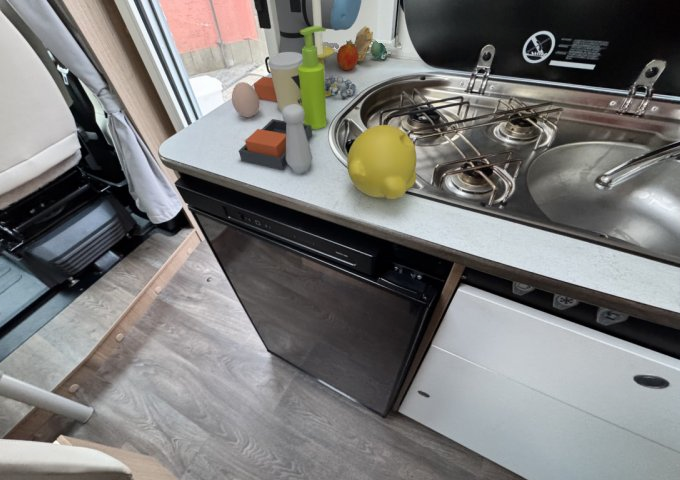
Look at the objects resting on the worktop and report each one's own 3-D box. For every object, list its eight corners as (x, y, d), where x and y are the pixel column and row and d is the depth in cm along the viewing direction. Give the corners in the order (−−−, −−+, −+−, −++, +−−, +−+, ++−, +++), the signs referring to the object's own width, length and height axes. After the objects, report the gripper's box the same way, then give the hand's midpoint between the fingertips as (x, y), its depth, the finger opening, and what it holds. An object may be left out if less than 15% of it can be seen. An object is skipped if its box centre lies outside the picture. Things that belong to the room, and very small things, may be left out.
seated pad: (261, 144, 72) (257, 128, 68) (290, 150, 69) (288, 134, 66) (249, 156, 69) (244, 140, 65) (279, 163, 66) (276, 146, 63)
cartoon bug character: (343, 69, 108) (378, 75, 113) (365, 52, 92) (405, 61, 97) (345, 37, 105) (381, 46, 110) (368, 15, 89) (409, 25, 94)
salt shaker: (282, 172, 65) (271, 111, 55) (294, 158, 68) (286, 98, 58) (306, 177, 64) (299, 116, 53) (317, 163, 67) (312, 102, 56)
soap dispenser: (334, 123, 77) (331, 27, 62) (311, 131, 75) (302, 35, 60) (322, 115, 81) (316, 22, 65) (300, 122, 79) (289, 28, 63)
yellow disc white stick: (298, 90, 91) (284, -35, 69) (323, 80, 94) (316, -41, 73) (319, 100, 86) (311, -31, 64) (344, 89, 89) (344, -38, 68)
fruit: (355, 64, 101) (356, 35, 95) (359, 72, 97) (360, 42, 91) (335, 66, 101) (335, 38, 94) (338, 74, 97) (338, 45, 90)
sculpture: (418, 192, 47) (377, 113, 44) (357, 223, 55) (319, 158, 52) (438, 169, 58) (406, 105, 55) (385, 198, 66) (355, 143, 63)
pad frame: (274, 128, 77) (272, 118, 75) (312, 135, 74) (311, 125, 72) (241, 161, 69) (238, 150, 67) (283, 170, 66) (281, 159, 64)
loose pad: (265, 90, 92) (262, 76, 89) (288, 94, 90) (286, 79, 87) (256, 98, 89) (253, 83, 86) (279, 101, 87) (277, 87, 84)
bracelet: (334, 79, 92) (336, 71, 90) (361, 91, 89) (362, 84, 88) (316, 88, 86) (317, 80, 85) (344, 101, 84) (345, 94, 83)
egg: (252, 107, 85) (244, 75, 79) (267, 115, 82) (260, 81, 76) (231, 116, 83) (221, 83, 76) (246, 124, 79) (237, 91, 73)
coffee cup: (304, 115, 81) (298, 65, 71) (272, 114, 82) (262, 64, 73) (312, 100, 86) (308, 51, 77) (281, 99, 88) (274, 51, 78)
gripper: (235, -128, 47) (264, 37, 63) (312, -132, 59) (319, 6, 76) (199, -124, 49) (237, 34, 66) (281, -129, 62) (295, 5, 79)
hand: (281, 19), depth 71 cm, fingers open, 13 cm apart
